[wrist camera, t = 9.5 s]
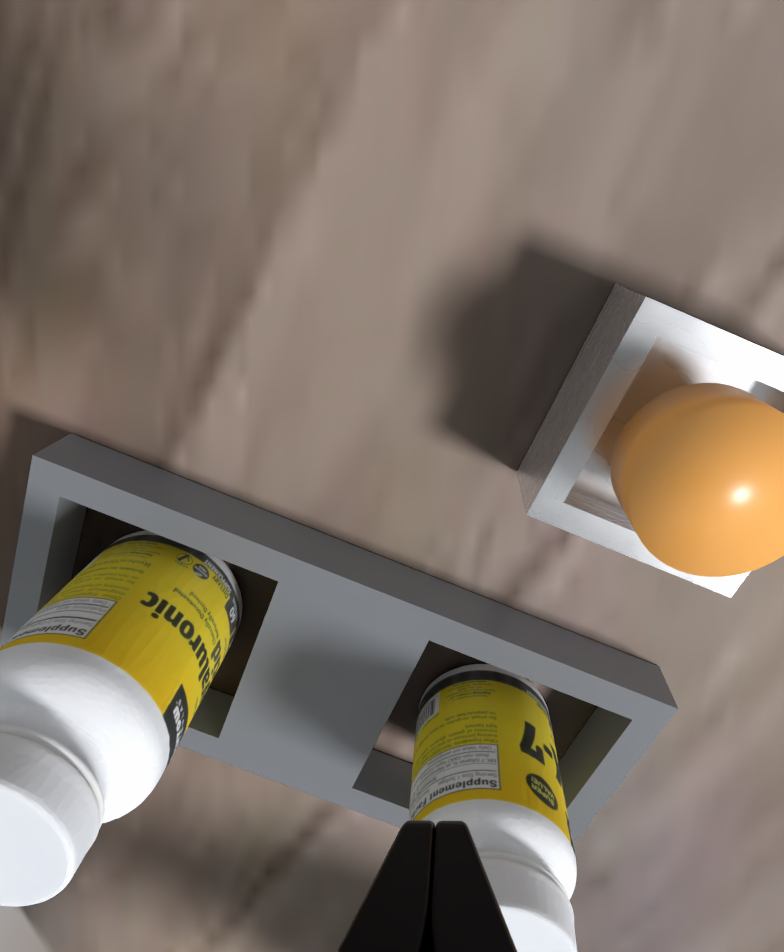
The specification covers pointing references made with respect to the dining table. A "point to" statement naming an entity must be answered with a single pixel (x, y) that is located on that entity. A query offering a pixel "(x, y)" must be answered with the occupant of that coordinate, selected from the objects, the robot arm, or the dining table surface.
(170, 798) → the dining table surface
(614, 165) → the dining table surface
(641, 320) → the button console
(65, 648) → the supplement bottle
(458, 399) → the dining table surface
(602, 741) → the bottle holder
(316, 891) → the dining table surface
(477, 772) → the supplement bottle
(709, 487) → the button
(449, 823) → the robot arm
